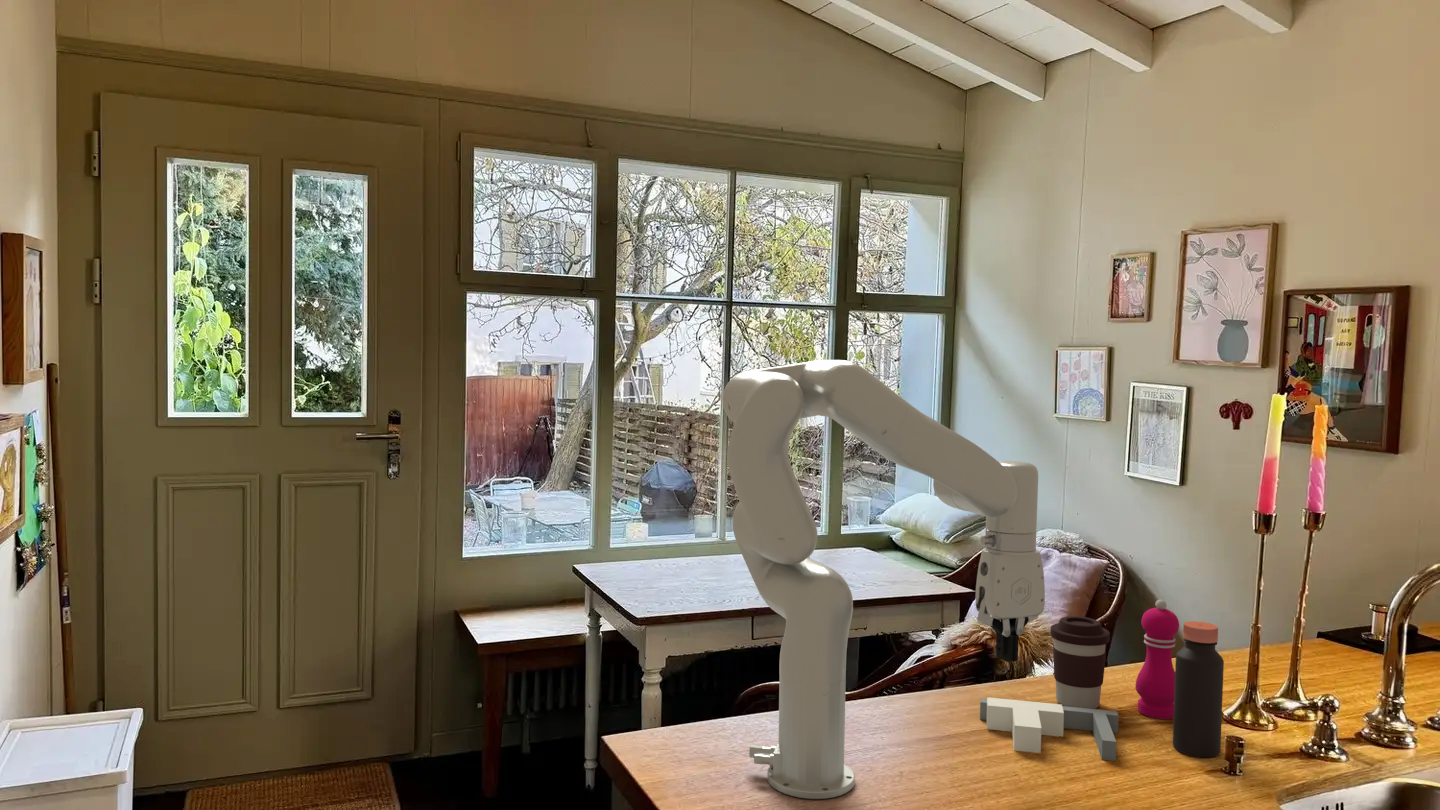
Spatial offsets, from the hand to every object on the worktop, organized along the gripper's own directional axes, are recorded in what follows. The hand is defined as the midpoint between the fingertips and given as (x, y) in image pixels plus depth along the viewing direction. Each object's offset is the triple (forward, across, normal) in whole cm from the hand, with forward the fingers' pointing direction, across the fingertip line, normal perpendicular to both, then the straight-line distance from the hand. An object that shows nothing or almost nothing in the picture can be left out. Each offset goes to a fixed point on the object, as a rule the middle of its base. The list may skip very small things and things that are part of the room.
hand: (1006, 659), depth 152 cm
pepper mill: (+15, +37, +5) cm, 40 cm away
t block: (+15, +8, +4) cm, 17 cm away
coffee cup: (+15, +27, +14) cm, 34 cm away
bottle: (+15, +30, -10) cm, 35 cm away
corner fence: (+15, +11, +3) cm, 19 cm away
